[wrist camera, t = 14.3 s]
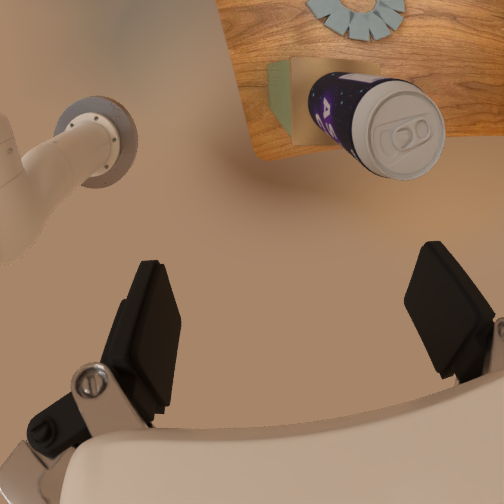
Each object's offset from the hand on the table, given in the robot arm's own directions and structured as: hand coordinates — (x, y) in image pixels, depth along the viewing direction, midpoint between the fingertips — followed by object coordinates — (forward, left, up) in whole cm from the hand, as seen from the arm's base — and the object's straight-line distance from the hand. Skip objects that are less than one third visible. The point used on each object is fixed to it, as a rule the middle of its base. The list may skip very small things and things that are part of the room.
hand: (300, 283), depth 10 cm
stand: (+6, +4, -41) cm, 42 cm away
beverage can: (+6, +4, -18) cm, 19 cm away
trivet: (+18, +22, -41) cm, 50 cm away
